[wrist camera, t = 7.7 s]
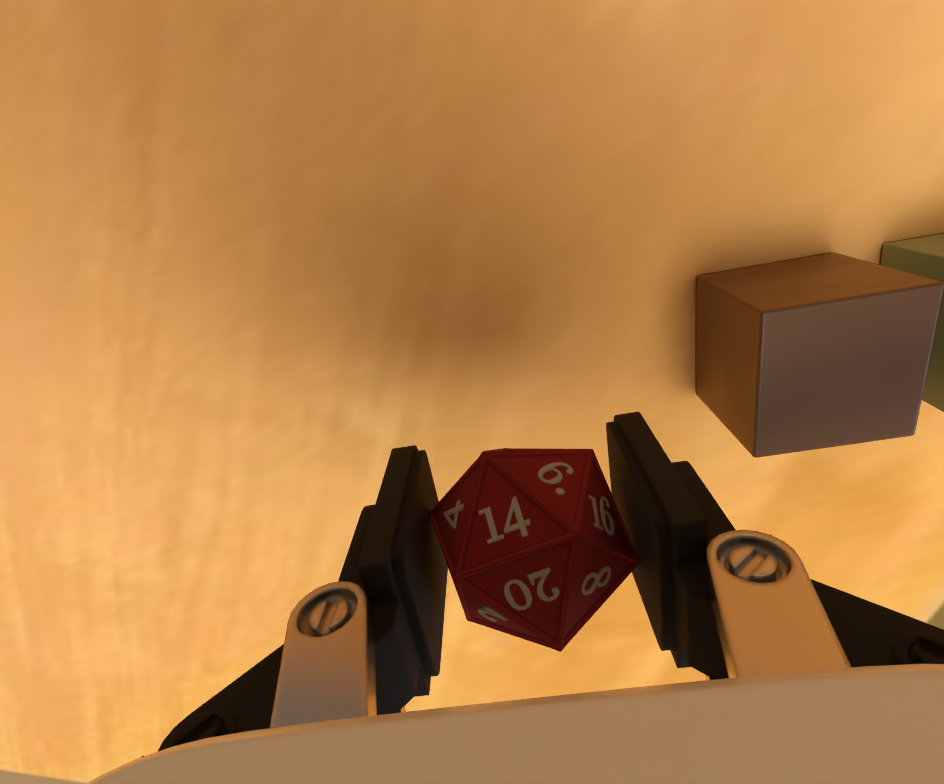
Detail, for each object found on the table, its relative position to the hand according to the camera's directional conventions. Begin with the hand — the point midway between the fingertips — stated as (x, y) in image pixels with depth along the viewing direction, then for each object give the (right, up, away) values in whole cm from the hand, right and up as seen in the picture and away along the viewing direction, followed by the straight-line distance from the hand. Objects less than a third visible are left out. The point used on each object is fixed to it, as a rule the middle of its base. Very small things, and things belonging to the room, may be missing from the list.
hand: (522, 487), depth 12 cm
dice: (0, 0, 0) cm, 1 cm away
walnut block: (+9, +4, +6) cm, 12 cm away
